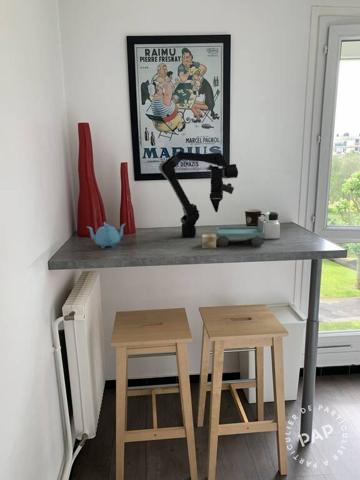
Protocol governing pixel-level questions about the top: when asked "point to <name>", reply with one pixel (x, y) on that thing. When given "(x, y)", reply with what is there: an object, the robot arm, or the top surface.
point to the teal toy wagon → (241, 234)
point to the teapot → (107, 235)
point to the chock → (209, 241)
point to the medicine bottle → (271, 226)
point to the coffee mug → (252, 217)
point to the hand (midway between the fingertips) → (216, 210)
